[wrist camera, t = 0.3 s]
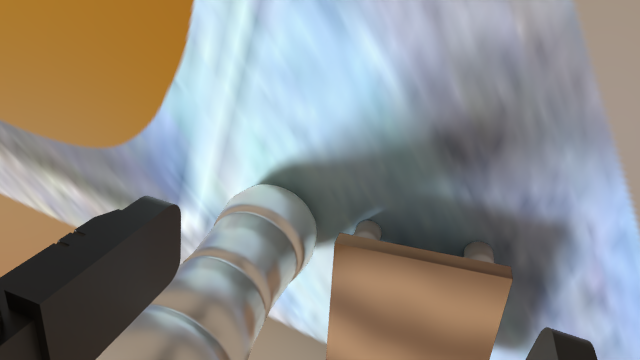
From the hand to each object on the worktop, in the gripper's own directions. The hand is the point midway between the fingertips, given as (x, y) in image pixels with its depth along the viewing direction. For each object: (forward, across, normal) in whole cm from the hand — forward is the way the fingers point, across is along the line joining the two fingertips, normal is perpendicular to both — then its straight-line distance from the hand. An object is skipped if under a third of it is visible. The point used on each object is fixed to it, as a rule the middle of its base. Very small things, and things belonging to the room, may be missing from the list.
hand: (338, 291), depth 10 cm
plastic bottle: (+18, +8, +11) cm, 23 cm away
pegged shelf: (+18, -3, +13) cm, 23 cm away
